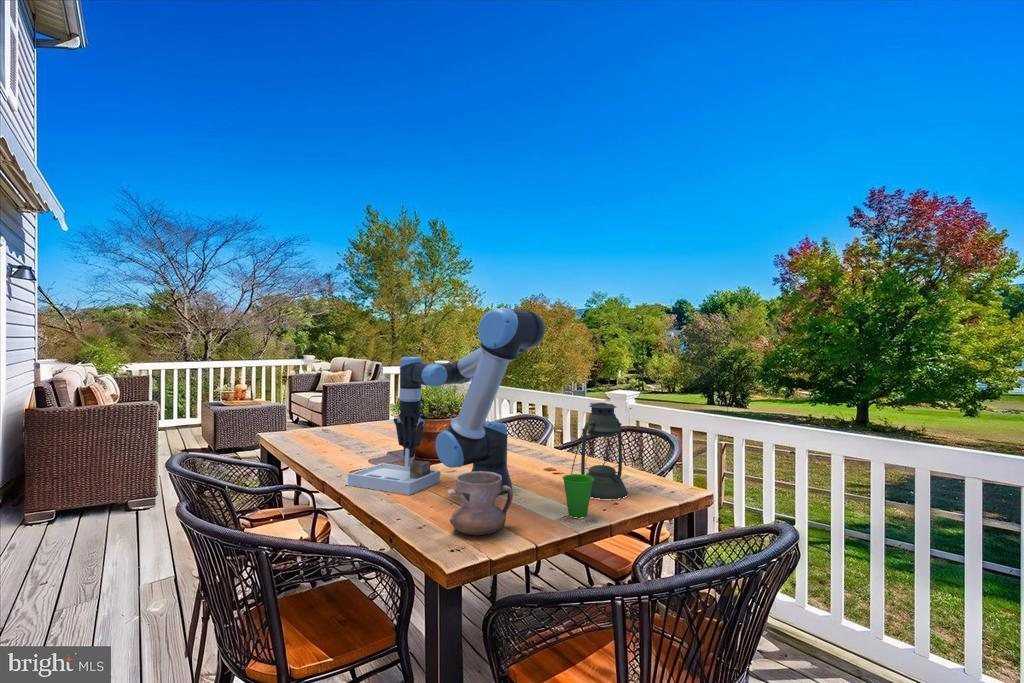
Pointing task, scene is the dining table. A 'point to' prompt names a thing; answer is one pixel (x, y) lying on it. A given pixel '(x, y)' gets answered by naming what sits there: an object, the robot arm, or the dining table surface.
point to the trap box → (392, 479)
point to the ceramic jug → (479, 503)
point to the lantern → (604, 476)
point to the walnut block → (419, 469)
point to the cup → (578, 493)
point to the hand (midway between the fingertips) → (408, 466)
